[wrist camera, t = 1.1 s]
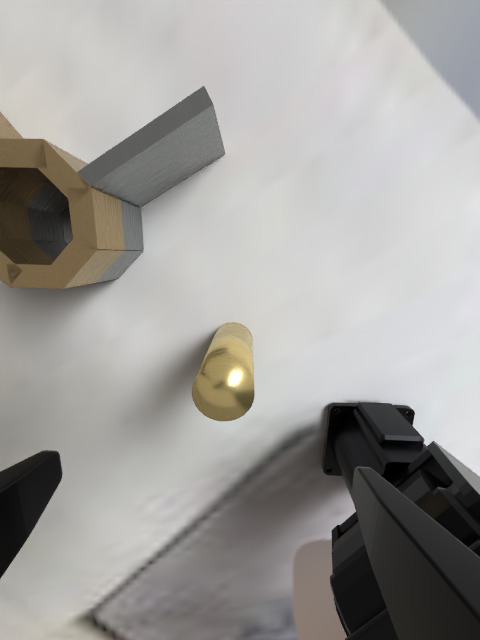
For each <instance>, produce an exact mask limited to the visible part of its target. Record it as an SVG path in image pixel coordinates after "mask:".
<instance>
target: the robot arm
mask: <svg viewBox="0 0 480 640" xmlns="http://www.w3.org/2000/svg"><path fill="white" fill-rule="evenodd" d="M336 408H338V410H337V411H334V409H336ZM407 411H408V413H407V414H405V413H406V412H407ZM414 415H415V412H414V410H413V409H411V408H410V407H409V406H402V405H392V404H388V403H364V402H360V403H357V404H352V403H333V404H331V405H330V406H329V410H328V419H327V428H326V436H325V445H324V454H323V462H322V469H323V472H324V473H325V474H326V475H335V476H343V478H344V481H345V483H346V486H347V488H348V490H349V493H350V495H351V498H352V500H353V502H354V505H355V509H356V512H355V513H354V514H353V515H352V516H350V517H349V518H348V519H347V520H346V521H345V522H344V523H342V524H341V525H337V526H336V527H335V528H334V529H333V530H332V563H333V574H332V575H331V576H330V584H331V588H332V591H333V595H334V601H335V605H336V610H337V613H338V615H339V618H340V621H341V624H342V626H343V628H344V630H345V632H346V635H347V638H346V639H345V640H480V477H479V476H478V475H477V474H475V473H474V472H473V471H472V470H470V469H469V468H468V467H466V466H465V465H464V464H463V463H461V462H460V461H459V460H457V459H456V458H455V457H454V456H452V455H451V454H450V453H448V452H447V451H446V450H445V449H443V448H442V447H441V446H439V445H438V444H437V443H436V442H434V441H433V442H432V443H431V444H429V445H428V446H426V445H425V444H424V438H423V437H422V436H421V435H420V434H419V433H418V432H417V431H416V430H415V428H414V427H413V426H412V425H413V420H414ZM327 468H330V469H327ZM61 479H62V467H61V460H60V454H59V453H58V452H57V451H49V450H45V451H41V452H39V453H37V454H35V455H33V456H31V457H29V458H27V459H25V460H23V461H21V462H19V463H17V464H15V465H13V466H11V467H9V468H7V469H5V470H3V471H1V472H0V578H1V577H2V576H3V574H4V573H5V571H6V570H7V568H8V567H9V565H10V564H11V562H12V561H13V559H14V558H15V556H16V555H17V554H18V552H19V551H20V549H21V548H22V546H23V545H24V543H25V541H26V540H27V538H28V537H29V535H30V534H31V532H32V530H33V529H34V527H35V525H36V523H37V522H38V520H39V518H40V516H41V515H42V513H43V511H44V509H45V508H46V506H47V504H48V502H49V501H50V499H51V497H52V496H53V494H54V492H55V490H56V489H57V487H58V485H59V483H60V481H61Z"/></svg>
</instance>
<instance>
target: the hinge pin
mask: <svg viewBox="0 0 480 640" xmlns="http://www.w3.org/2000/svg"><path fill="white" fill-rule="evenodd" d="M192 397H193V400H194V403H195V405H196V407H197V408H198V409H199V410H200V412H201V413H203V414H204V415H205V416H207V417H209V418H211V419H214V420H217V421H231V420H235V419H238V418H240V417H241V416H243V415H244V414H245V413H246V412H247V411H248V410H249V409H250V407H251V406H252V403H253V400H254V368H253V339H252V335H251V333H250V331H249V330H248V329H247V328H246V327H245V326H244V325H242V324H239V323H234V322H232V323H226V324H224V325H222V326H221V327H220V328H219V329H218V330H217V331H216V333H215V335H214V338H213V340H212V342H211V344H210V347H209V349H208V351H207V354H206V356H205V358H204V360H203V363H202V365H201V367H200V370H199V372H198V374H197V377H196V379H195V381H194V384H193V388H192Z"/></svg>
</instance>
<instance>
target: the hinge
mask: <svg viewBox="0 0 480 640" xmlns="http://www.w3.org/2000/svg"><path fill="white" fill-rule="evenodd" d="M224 154H225V150H224V146H223V142H222V138H221V134H220V130H219V126H218V122H217V118H216V114H215V110H214V106H213V103H212V101H211V99H210V97H209V95H208V93H207V91H206V89H205V87H204V86H203V87H202V88H200V89H199V90H197V91H196V92H194V93H193V94H191V95H190V96H188V97H187V98H185V99H184V100H182V101H181V102H179V103H178V104H177V105H175V106H174V107H172V108H171V109H169V110H168V111H166V112H165V113H163V114H162V115H160V116H159V117H157V118H156V119H154V120H153V121H151V122H150V123H149V124H147V125H146V126H144V127H143V128H141V129H140V130H138V131H137V132H135V133H134V134H132V135H131V136H129V137H128V138H126V139H125V140H123V141H122V142H121V143H119V144H118V145H116V146H115V147H113V148H112V149H110V150H109V151H107V152H106V153H104V154H103V155H101V156H100V157H98V158H97V159H96V160H94V161H93V162H91V163H90V164H87V163H86V162H84V161H82V160H80V159H78V158H77V157H75V156H73V155H71V154H69V153H68V152H66V151H64V150H62V149H60V148H59V147H57V146H55V145H53V144H51V143H50V142H48V141H46V140H44V139H23V138H22V137H21V135H20V134H19V133H18V132H17V131H16V130H15V129H14V127H13V126H12V125H11V124H10V123H9V122H8V120H7V119H6V118H5V117H4V116H3V115H2V113H1V112H0V279H1V280H2V281H3V282H5V283H6V284H7V285H8V286H9V287H18V288H52V289H65V288H70V287H75V286H81V285H86V284H91V283H97V282H102V281H108V280H113V279H118V278H119V277H120V276H121V275H122V274H123V273H124V272H125V271H126V269H127V268H128V267H129V266H130V265H131V264H132V263H133V262H134V261H135V260H136V259H137V258H138V256H139V255H140V254H141V253H142V252H143V251H144V250H143V233H142V216H141V209H140V207H141V206H143V205H144V204H146V203H148V202H149V201H151V200H152V199H154V198H156V197H157V196H159V195H160V194H162V193H164V192H165V191H167V190H168V189H170V188H172V187H173V186H175V185H176V184H178V183H180V182H181V181H183V180H184V179H186V178H187V177H189V176H191V175H192V174H194V173H195V172H197V171H199V170H200V169H202V168H203V167H205V166H207V165H208V164H210V163H211V162H213V161H215V160H216V159H218V158H219V157H221V156H222V155H224ZM68 205H69V209H70V218H71V226H72V235H73V239H72V241H71V242H70V243H69V244H68V245H67V244H66V243H65V241H64V233H63V225H62V217H61V214H62V213H63V211H64V210H65V209H66V208H67V206H68Z"/></svg>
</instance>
